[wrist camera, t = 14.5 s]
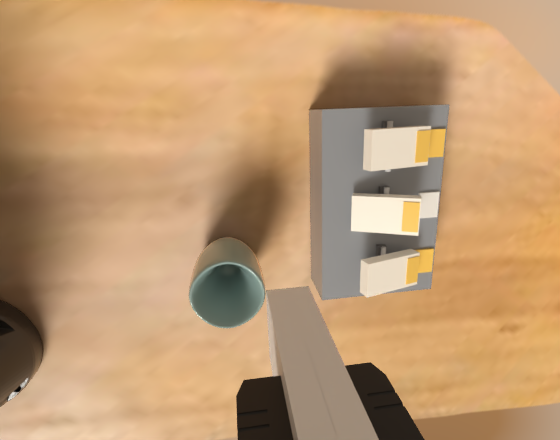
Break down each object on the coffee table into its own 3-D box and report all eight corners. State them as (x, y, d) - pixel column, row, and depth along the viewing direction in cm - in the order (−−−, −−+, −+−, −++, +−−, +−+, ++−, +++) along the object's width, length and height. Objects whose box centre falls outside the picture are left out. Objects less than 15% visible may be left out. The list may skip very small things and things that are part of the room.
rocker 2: (352, 227, 41) (350, 231, 40) (353, 192, 40) (351, 196, 38) (417, 231, 39) (418, 236, 37) (420, 195, 38) (421, 198, 36)
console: (311, 278, 49) (324, 305, 42) (309, 109, 42) (325, 109, 35) (408, 268, 51) (436, 293, 44) (420, 105, 44) (456, 104, 37)
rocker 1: (362, 169, 37) (371, 171, 35) (364, 129, 36) (373, 129, 34) (418, 163, 39) (428, 165, 38) (421, 125, 38) (431, 125, 36)
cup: (228, 217, 45) (228, 246, 35) (269, 257, 47) (280, 294, 38) (184, 258, 46) (172, 297, 36) (227, 296, 48) (227, 342, 39)
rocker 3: (359, 292, 41) (367, 297, 39) (360, 259, 40) (369, 264, 38) (408, 279, 43) (417, 284, 42) (411, 248, 42) (420, 252, 41)
